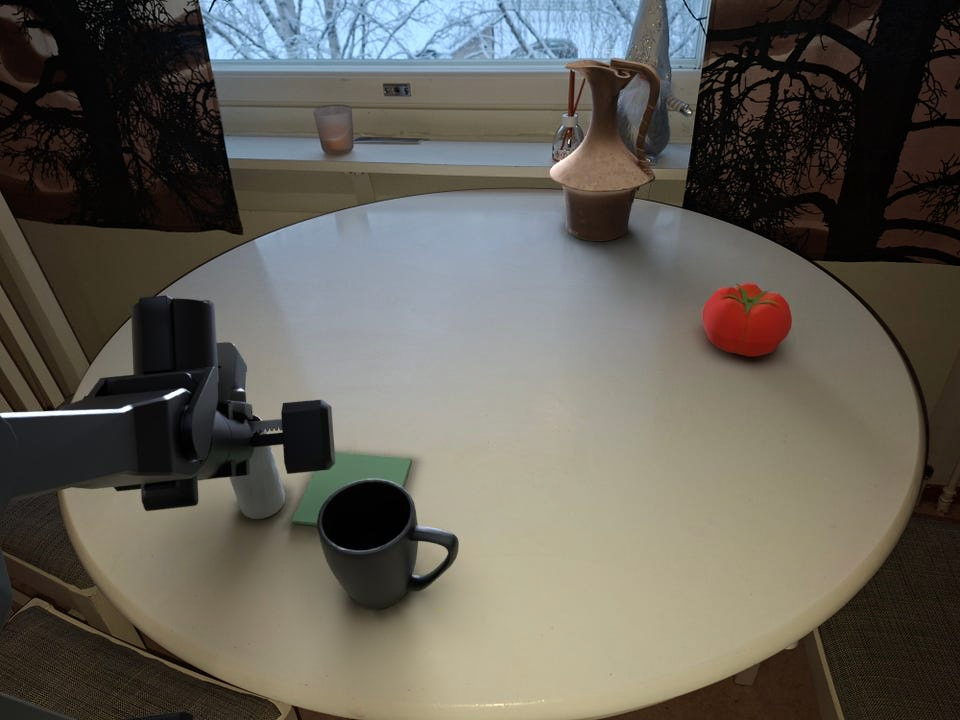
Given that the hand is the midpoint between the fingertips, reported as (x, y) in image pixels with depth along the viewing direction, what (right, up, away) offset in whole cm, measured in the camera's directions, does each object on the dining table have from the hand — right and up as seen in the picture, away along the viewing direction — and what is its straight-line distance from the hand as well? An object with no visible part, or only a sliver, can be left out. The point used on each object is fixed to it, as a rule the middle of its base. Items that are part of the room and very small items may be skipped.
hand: (250, 446), depth 67 cm
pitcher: (+44, +32, +52) cm, 75 cm away
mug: (+16, -12, -6) cm, 21 cm away
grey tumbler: (0, -6, +3) cm, 7 cm away
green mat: (+10, -5, +4) cm, 12 cm away
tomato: (+58, +11, +23) cm, 63 cm away
